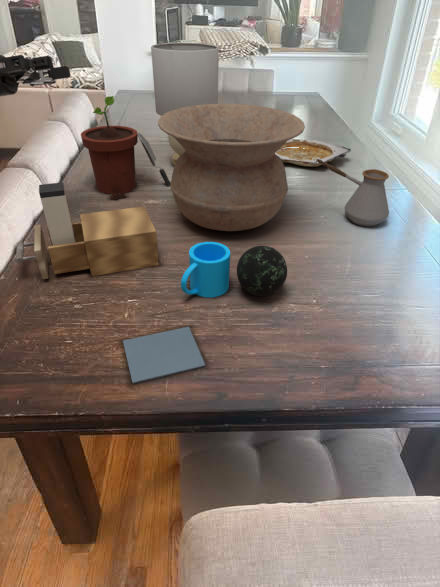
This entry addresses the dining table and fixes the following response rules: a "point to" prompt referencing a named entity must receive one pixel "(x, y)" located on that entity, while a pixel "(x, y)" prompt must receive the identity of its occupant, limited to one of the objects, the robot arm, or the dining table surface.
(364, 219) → the coffee pot
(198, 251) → the mug
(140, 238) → the cabinet
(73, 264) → the drawer
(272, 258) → the decorative stone
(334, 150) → the pizza
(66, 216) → the black-capped tall post
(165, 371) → the mat
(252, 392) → the dining table surface
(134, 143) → the potted plant
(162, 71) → the lamp
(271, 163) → the pot
